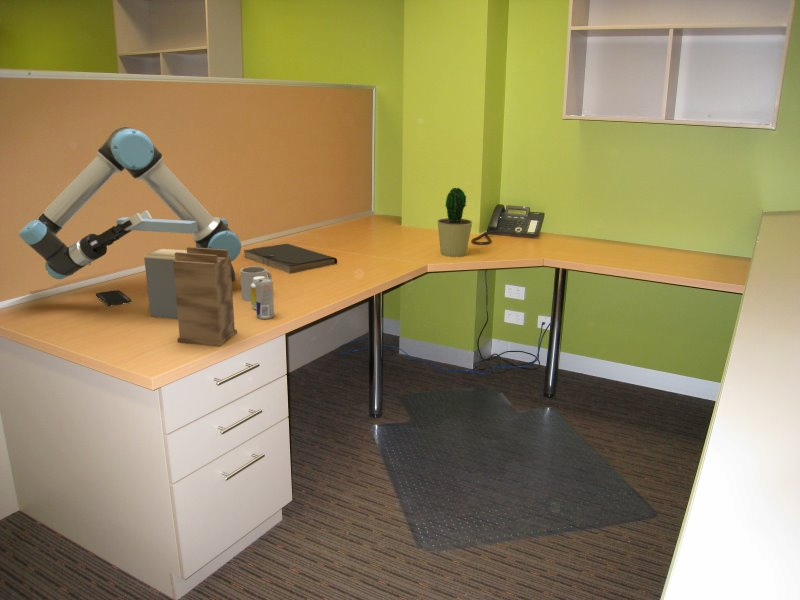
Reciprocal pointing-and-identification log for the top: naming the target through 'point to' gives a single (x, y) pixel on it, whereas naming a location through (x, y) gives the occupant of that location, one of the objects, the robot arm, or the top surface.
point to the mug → (251, 279)
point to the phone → (113, 297)
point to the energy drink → (264, 298)
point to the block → (161, 283)
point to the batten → (163, 225)
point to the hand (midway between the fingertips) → (144, 215)
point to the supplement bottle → (254, 291)
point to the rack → (204, 296)
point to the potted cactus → (454, 226)
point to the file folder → (289, 258)
